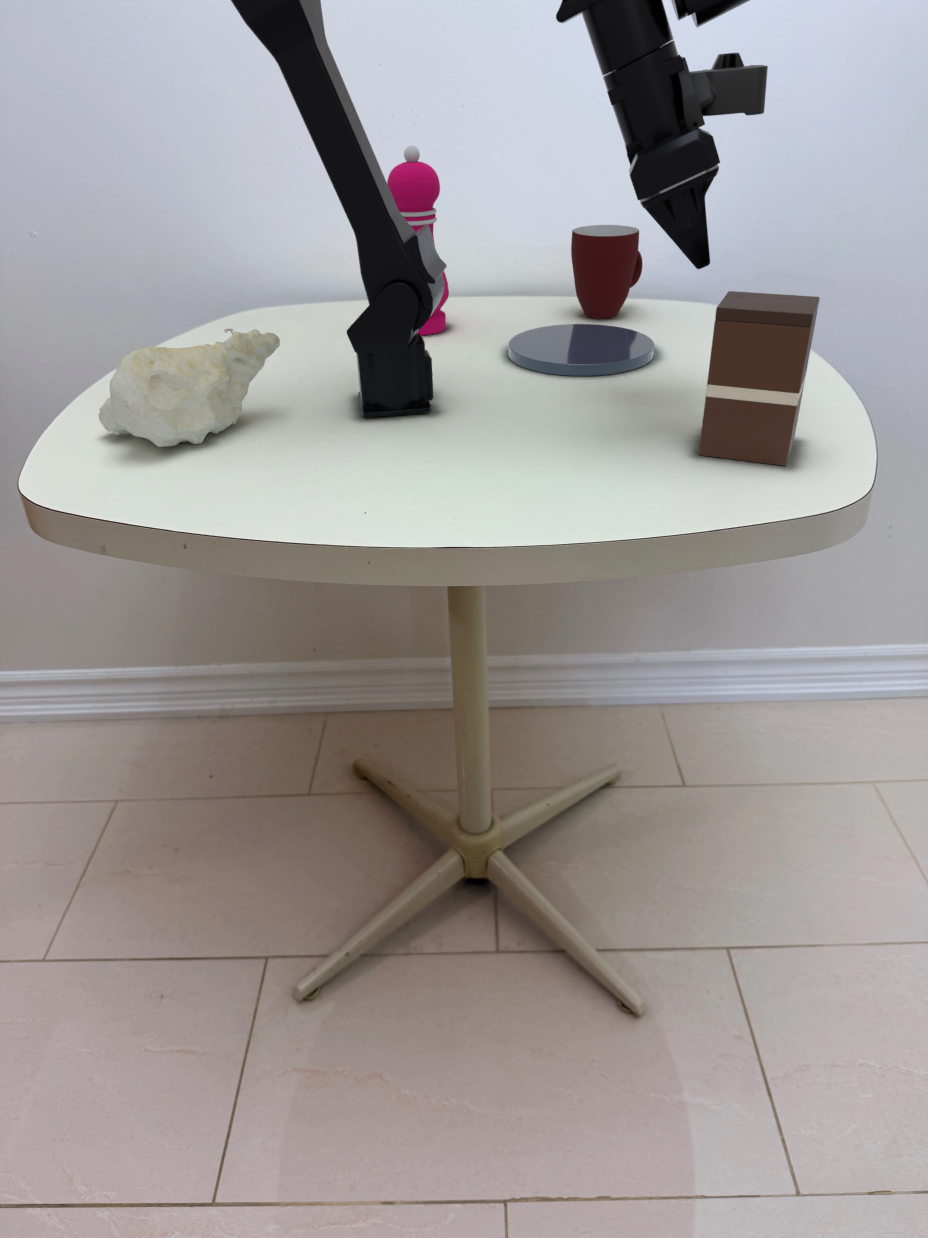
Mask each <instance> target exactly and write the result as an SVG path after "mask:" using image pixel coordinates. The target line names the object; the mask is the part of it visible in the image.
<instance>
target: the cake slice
mask: <svg viewBox="0 0 928 1238" xmlns="http://www.w3.org/2000/svg"><path fill="white" fill-rule="evenodd" d="M820 299H821V298H820V296H812V295H799V294H798V295H797V294H796V295H795V294H782V293H781V294H779V293H767V292H766V293H765V292H748V291H736V290H735V291H733V290H728V291H727V293H726V295H725V296H724V297H723V298H722V300H721V301H720V302H719V304H718V305H717V306H716V309H715V317H714V323H713V332H712V341H711V348H710V358H709V366H708V373H707V382H706V389H705V390H706V391H705V399H704V407H703V415H702V416H703V417H702V423H701V432H700V441H699V448H698V455H699V456H704V457H711V458H720V459H727V460H735V461H744V462H752V463H758V464H759V463H760V464H766V465H774V466H783V467H787V464H788V461H789V458H790V455H791V452H792V449H793V445H794V442H795V437H796V431H797V426H798V421H799V415H800V410H801V404H802V398H803V392H804V387H805V382H806V377H807V371H808V366H809V359H810V355H811V350H812V349H811V348H812V343H813V337H814V333H815V327H816V323H817V315H818V309H819V305H820Z"/></svg>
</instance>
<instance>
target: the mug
mask: <svg viewBox="0 0 928 1238" xmlns="http://www.w3.org/2000/svg"><path fill="white" fill-rule="evenodd" d="M570 242H571V245H570V256H571V265H572V272H573V281H574V289H575V293H576V298H577V301H578V303H579V305H580V307H581V310H582V311H583V314H584V316H585V317H586V318H589V319H595V320H608V319H609V320H610V319H614V318H615V317H617V316H618V315H619V313H620V311H621V310H622V308H623V306H624V304H625V302H626V300H627V298H628V297H629V293H630V290H631V288H633V287H634V286H635V285H636V284H637V283H638V282H639V280H640V278H641V275H642V273H643V257H642V254H641V252H640V251H639V247H640V246H639V243H640V230H639V228H637V227H634V226H629V225H621V224H619V225H618V224H593V225H592V224H591V225H583V226H579V227H576V228H573V229H571V241H570Z"/></svg>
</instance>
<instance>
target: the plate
mask: <svg viewBox="0 0 928 1238" xmlns="http://www.w3.org/2000/svg"><path fill="white" fill-rule="evenodd" d="M507 345H508V346H507V347H508V349H507V352H508V353H507V354H508V358H509V360H511V362H513V363H514V364H515V365H518V366H519V367H522V368H524V369H527V370H531V371H534V372H538V373H542V374H548V375H556V376H557V375H558V376H572V377H592V376H606V375H614V374H615V375H616V374H622V373H625V372H629V371H632V370H636V369H639V368H641V367H644V366H645V365H648V364H649V363H650V362H651V361H652V360H653V358H654V355H655V342H654V340H653V339H652V338H651V337H649V336H648V335H646V334H644V333H642V332H640V331H637V330H633V329H630V328H626V327H620V326H615V325H606V324H595V323H592V324H591V323H566V324H553V325H545V326H541V327H535V328H531V329H528V330H525V331H522V332H519V333H517V334H516V335H514V336H512V337H511V338H510V339H509V341H508V344H507Z"/></svg>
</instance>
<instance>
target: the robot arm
mask: <svg viewBox="0 0 928 1238" xmlns="http://www.w3.org/2000/svg"><path fill="white" fill-rule="evenodd" d="M670 1H671V4H672V8H673V10H674V13H675V17H676V19H677V21H678V22H679V21H681V20H683V19H685V18H686V17H689V16H690V17H691V19H692V21H693V23H694V26H695V27H696V28H700V27H701V26H703V25H705V24H707V23H710V22H711V21H713V20H715V19H717V18H719V17H721V16H723V15H725V14H726V13H729V12H730V11H732V10H734V9H736V8H738V7H740V6H742V5H744V4H746V3H748V2H750V1H751V0H670ZM230 2H231V3H232V5H233V6H234V8H235V9H236V11H237V12H238V14H239V16H240V17H241V18H242V20H243V22H244V23H245V24H246V27H248V28H249V29H250V31H251V32H252V33H253V34H254V35H255V37H256V38H257V39H258V40H259V41H260V43H261V44H262V45H263V46H264V48H265V49H266V50H267V51H268V52H269V54H270V55H271V57H272V58H273V59H274V60H275V62H276V64H277V66H278V67H279V70H280V72H281V74H282V77H283V78H284V81H285V84H286V85H287V88H288V89H289V93H290V94H291V97H292V99H293V101H294V103H295V106H296V107H297V110H298V112H299V114H300V116H301V118H302V121H303V123H304V126H305V127H306V130H307V131H308V134H309V135H310V136H309V137H310V138H311V140H312V143H313V145H314V147H315V149H316V151H317V154H318V156H319V158H320V161H321V162H322V165H323V168H324V169H325V172H326V174H327V176H328V178H329V180H330V182H331V184H332V186H333V187H332V188H333V189H334V192H335V195H336V196H337V198H338V201H339V202H340V204H341V207H342V210H343V212H344V213H345V216H346V218H347V220H348V222H349V225H350V227H351V229H352V232H353V234H354V237H355V241H356V248H357V255H358V256H357V257H358V263H359V271H360V276H361V281H362V283H363V287H364V291H365V294H366V298H367V302H368V306H367V307H366V308H365V309H364V310H363V312H361V314H360V315H359V316H357V318H356V319H355V320H354V322H353V323H352V324H351V325H349V327H348V328H347V330H346V335H347V338H348V340H349V342H350V344H351V347H352V349H353V352H354V353H356V364H357V375H358V385H359V387H358V388H359V391H358V393H357V395H358V396H357V397H358V402H359V406H360V411H361V416H362V417H363V418H374V417H387V416H389V417H390V416H399V415H401V416H402V415H412V414H424V413H431V411H432V405H431V403H430V401H432V400H433V399H434V380H433V379H434V378H433V359H432V356H431V354H430V352H429V351H428V350H427V349H426V342H425V340H424V338H423V335H421V334H417V332H418V331H419V330H420V329H421V328H422V327H423V326H424V325H425V323H426V322H427V321H428V320H429V318H430V317H431V315H432V314H433V312H434V311H435V309H436V308H437V306H438V305H439V303H440V301H441V298H442V296H443V292H444V278H443V274H442V273H443V271H444V272H445V270H446V269H447V266H448V265H447V263H446V262H444V260H443V259H441V256H440V255H439V253H438V251H437V249H436V246H434V245H435V241H434V242H433V237H432V233H431V230H430V228H429V225H425V226H423V227H422V228H420V229H419V230H418V231H416V232H415V231H414V230H413V228H412V227H411V226H410V225H409V224H408V222H407V221H406V220H405V219H404V218H403V216H402V215H401V213H400V212H399V210H398V208H397V206H396V203H395V201H394V199H393V196H392V194H391V192H390V189H389V187H388V185H387V180H386V177H385V175H384V173H383V171H382V168H381V166H380V164H379V161H378V159H377V156H376V154H375V152H374V150H373V147H372V144H371V143H370V140H369V138H368V135H367V133H366V131H365V128H364V125H363V123H362V122H361V119H360V117H359V114H358V112H357V110H356V108H355V107H356V106H355V104H354V102H353V100H352V98H351V96H350V93H349V91H348V87H347V86H346V84H345V81H344V79H343V77H342V75H341V72H340V70H339V67H338V65H337V63H336V60H335V58H334V55H333V53H332V51H331V48H330V46H329V43H328V40H327V37H326V32H325V31H326V30H325V23H324V17H323V9H322V1H321V0H230ZM580 15H581V16H582V18H583V22H584V24H585V27H586V31H587V33H588V34H587V35H588V36H589V40H590V43H591V46H592V49H593V51H594V54H595V57H596V61H597V64H598V67H599V70H600V73H601V77H602V79H603V82H604V85H605V88H606V93H607V96H608V99H609V102H610V105H611V107H612V109H613V112H614V115H615V118H616V121H617V123H618V127H619V130H620V133H621V137H622V139H623V142H624V147H625V151H626V157H627V160H628V163H629V166H630V168H629V169H628V173H629V178H630V182H631V184H632V186H633V187H632V188H633V190H634V194H635V195H636V199H637V201H639V202H640V205H641V206H642V208H643V209H644V210H645V211H646V212H647V213H648V214H649V215H650V217H652V219H653V220H654V221H655V222H656V224H658V226H659V227H660V228H661V229H662V231H664V233H665V234H666V235H667V236H668V237H669V238H670V240H672V242H673V243H674V244H675V245H676V246H677V248H678V249H679V250H680V252H682V253H683V255H684V256H685V257H686V258H687V259H688V260H689V262H690V263H691V264H692V265H693V266H694V268H695V269H696V270H702V269H703V268H706V267H708V266H710V265H711V253H710V243H709V241H710V240H709V231H708V222H707V209H706V208H707V207H706V195H707V193H708V191H709V189H710V186H711V185H712V183H713V181H714V179H715V178H716V177H717V176H718V173H719V170H720V166H719V164H720V163H721V159H720V156H719V153H718V149H717V146H716V142H715V139H714V136H713V134H711V133H710V132H709V131H707V130H704V129H702V128H701V127H703V126H705V125H706V123H705V118H704V117H712V116H724V115H725V116H727V115H735V114H744V115H746V116H758V115H763V114H764V113H765V108H766V107H765V106H766V94H767V81H768V70H769V69H768V68H769V66H768V65H764V64H750V65H745V64H744V61H743V59H742V56H741V54H740V52H727V53H719V54H717V56H716V58H715V60H714V62H713V64H712V67H711V69H702V70H692V71H690V68H689V65H688V62H687V59H686V57H685V56H681V54H679V53H678V49H677V47H676V43H675V40H674V36H673V32H672V29H671V25H670V23H669V18H668V15H667V12H666V9H665V4H664V2H663V0H561V3H560V5H559V8H558V10H557V12H556V13H555V20H556V21H557V22H558V23H559V24H566V23H567V22H569V21H571V20H573V19H574V18H577V17H579V16H580Z"/></svg>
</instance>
